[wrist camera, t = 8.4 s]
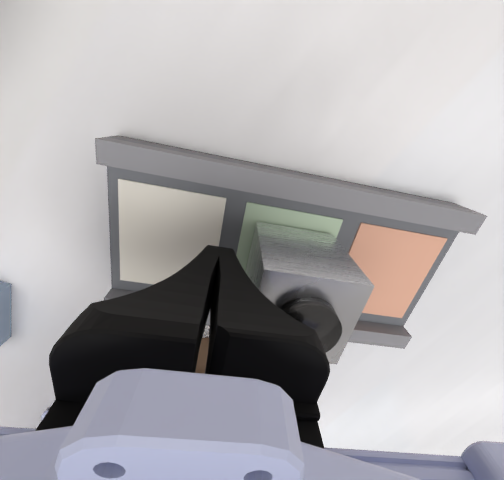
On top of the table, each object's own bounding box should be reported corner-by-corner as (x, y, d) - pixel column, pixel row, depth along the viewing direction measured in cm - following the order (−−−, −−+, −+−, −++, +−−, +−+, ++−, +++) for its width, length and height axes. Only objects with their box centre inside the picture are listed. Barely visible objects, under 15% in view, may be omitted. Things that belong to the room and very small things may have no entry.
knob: (310, 296, 15) (341, 377, 10) (241, 287, 14) (242, 367, 10) (332, 234, 13) (383, 297, 8) (256, 221, 12) (265, 279, 8)
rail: (387, 324, 18) (404, 348, 16) (121, 289, 16) (104, 312, 14) (454, 203, 14) (486, 216, 12) (118, 135, 12) (95, 138, 10)
